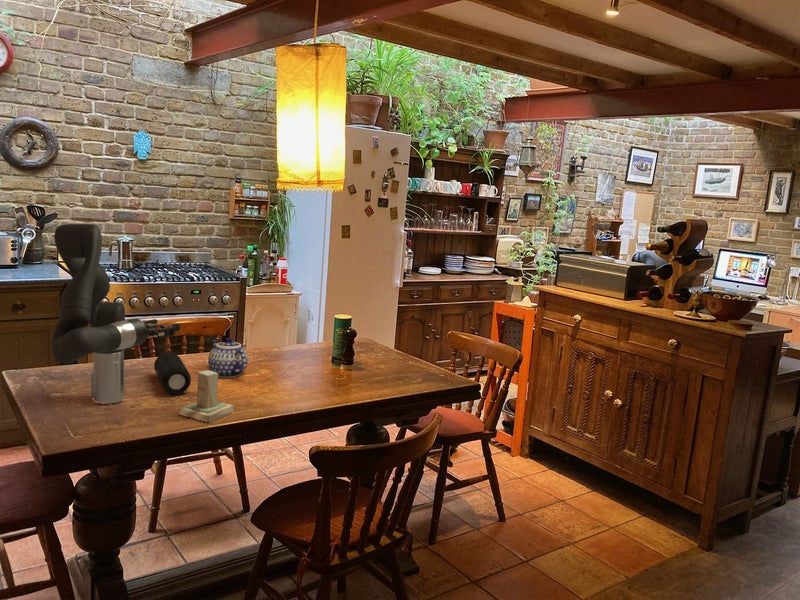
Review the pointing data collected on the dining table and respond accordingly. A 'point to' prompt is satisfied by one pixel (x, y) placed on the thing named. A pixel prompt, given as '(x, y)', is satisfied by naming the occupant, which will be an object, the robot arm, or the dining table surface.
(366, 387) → the dining table surface
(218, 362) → the teapot
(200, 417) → the birch base
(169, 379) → the portable speaker
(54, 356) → the robot arm
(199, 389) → the box
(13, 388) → the dining table surface
